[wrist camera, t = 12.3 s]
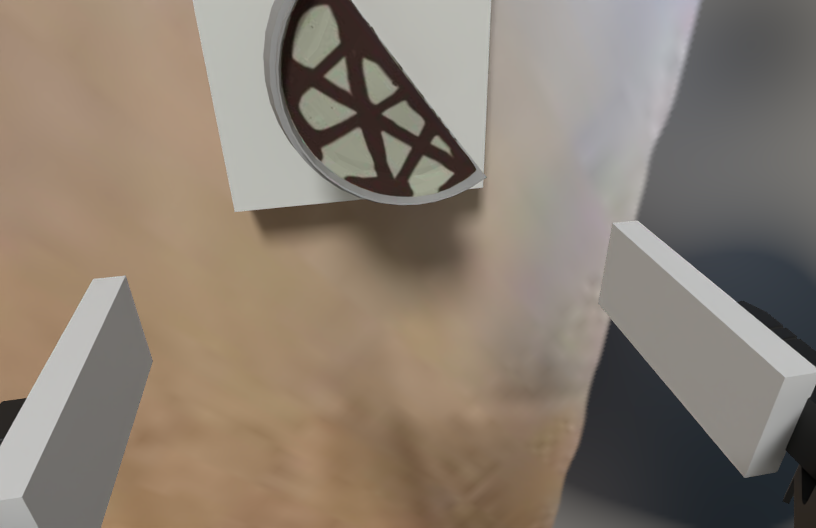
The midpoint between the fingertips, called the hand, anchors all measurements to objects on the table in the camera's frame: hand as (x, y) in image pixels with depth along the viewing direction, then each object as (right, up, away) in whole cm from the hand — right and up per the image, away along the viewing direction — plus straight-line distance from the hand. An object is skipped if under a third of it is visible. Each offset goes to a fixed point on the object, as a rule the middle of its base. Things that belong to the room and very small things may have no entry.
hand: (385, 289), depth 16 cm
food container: (-3, +12, +17) cm, 21 cm away
